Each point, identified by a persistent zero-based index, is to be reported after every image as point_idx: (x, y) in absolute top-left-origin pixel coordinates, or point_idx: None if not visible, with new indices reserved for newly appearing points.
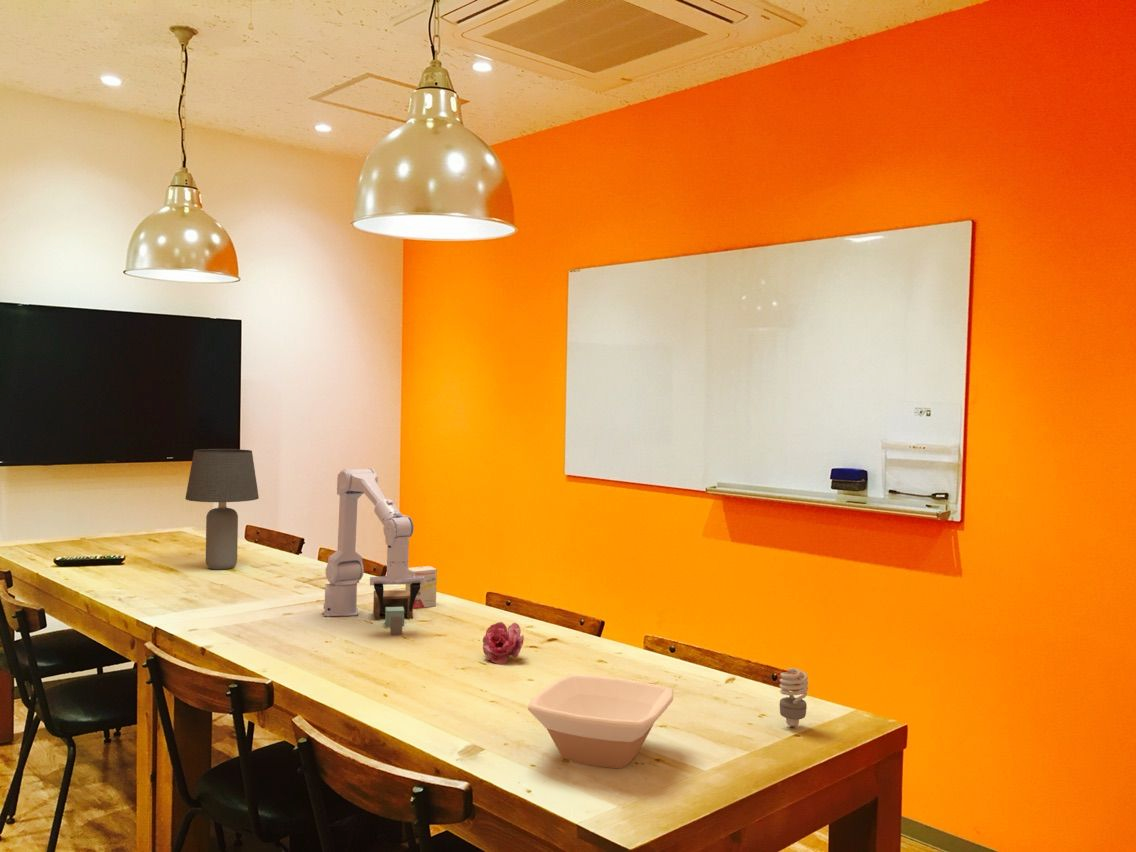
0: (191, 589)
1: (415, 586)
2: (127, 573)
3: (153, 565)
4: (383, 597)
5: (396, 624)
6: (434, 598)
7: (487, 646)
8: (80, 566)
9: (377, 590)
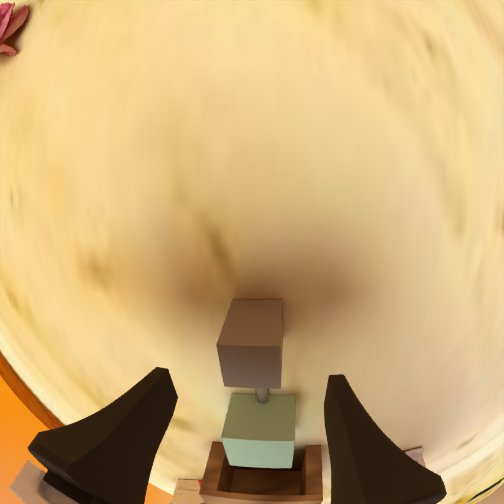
0: (484, 474)
1: (47, 463)
2: (489, 483)
3: (462, 501)
4: (293, 499)
5: (252, 325)
6: (177, 490)
7: (4, 19)
8: (498, 480)
9: (423, 481)
